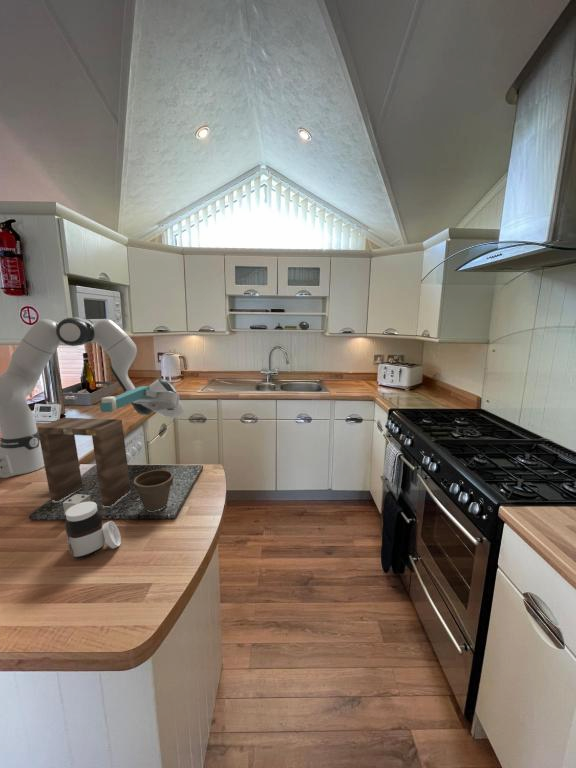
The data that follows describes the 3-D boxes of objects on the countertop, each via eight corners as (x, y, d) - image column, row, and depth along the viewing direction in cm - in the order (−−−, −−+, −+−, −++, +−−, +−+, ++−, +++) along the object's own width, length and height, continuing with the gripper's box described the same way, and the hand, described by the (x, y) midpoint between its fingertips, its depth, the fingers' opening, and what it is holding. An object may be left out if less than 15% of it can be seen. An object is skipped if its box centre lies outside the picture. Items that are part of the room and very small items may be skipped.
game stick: (100, 411, 107) (98, 399, 106) (141, 393, 128) (140, 383, 127) (111, 411, 107) (109, 399, 106) (150, 393, 128) (149, 383, 127)
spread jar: (66, 547, 88) (58, 507, 86) (112, 528, 96) (106, 490, 93) (77, 571, 79) (70, 527, 77) (127, 547, 87) (122, 507, 85)
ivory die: (65, 517, 101) (62, 501, 100) (78, 508, 106) (75, 492, 105) (79, 519, 100) (77, 502, 99) (92, 509, 105) (89, 493, 104)
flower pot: (183, 499, 110) (180, 471, 108) (160, 519, 99) (157, 488, 97) (153, 495, 113) (150, 467, 111) (128, 514, 102) (124, 483, 100)
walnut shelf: (50, 503, 109) (36, 427, 104) (75, 487, 119) (64, 417, 114) (110, 508, 105) (98, 430, 100) (131, 492, 115) (121, 419, 110)
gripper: (137, 393, 140) (116, 383, 127) (183, 394, 136) (165, 383, 123) (134, 408, 138) (112, 399, 125) (180, 409, 134) (162, 400, 121)
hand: (139, 391), depth 124 cm, fingers closed on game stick, 3 cm apart
